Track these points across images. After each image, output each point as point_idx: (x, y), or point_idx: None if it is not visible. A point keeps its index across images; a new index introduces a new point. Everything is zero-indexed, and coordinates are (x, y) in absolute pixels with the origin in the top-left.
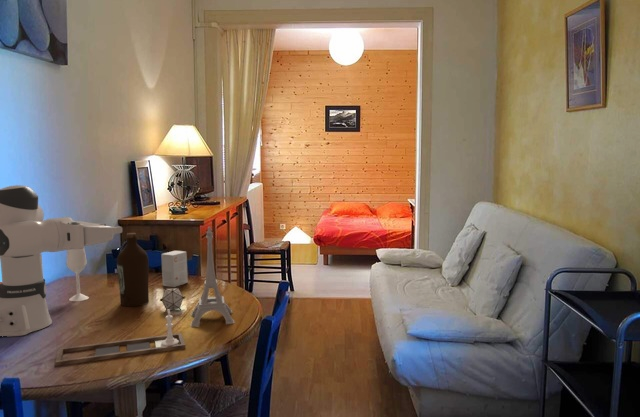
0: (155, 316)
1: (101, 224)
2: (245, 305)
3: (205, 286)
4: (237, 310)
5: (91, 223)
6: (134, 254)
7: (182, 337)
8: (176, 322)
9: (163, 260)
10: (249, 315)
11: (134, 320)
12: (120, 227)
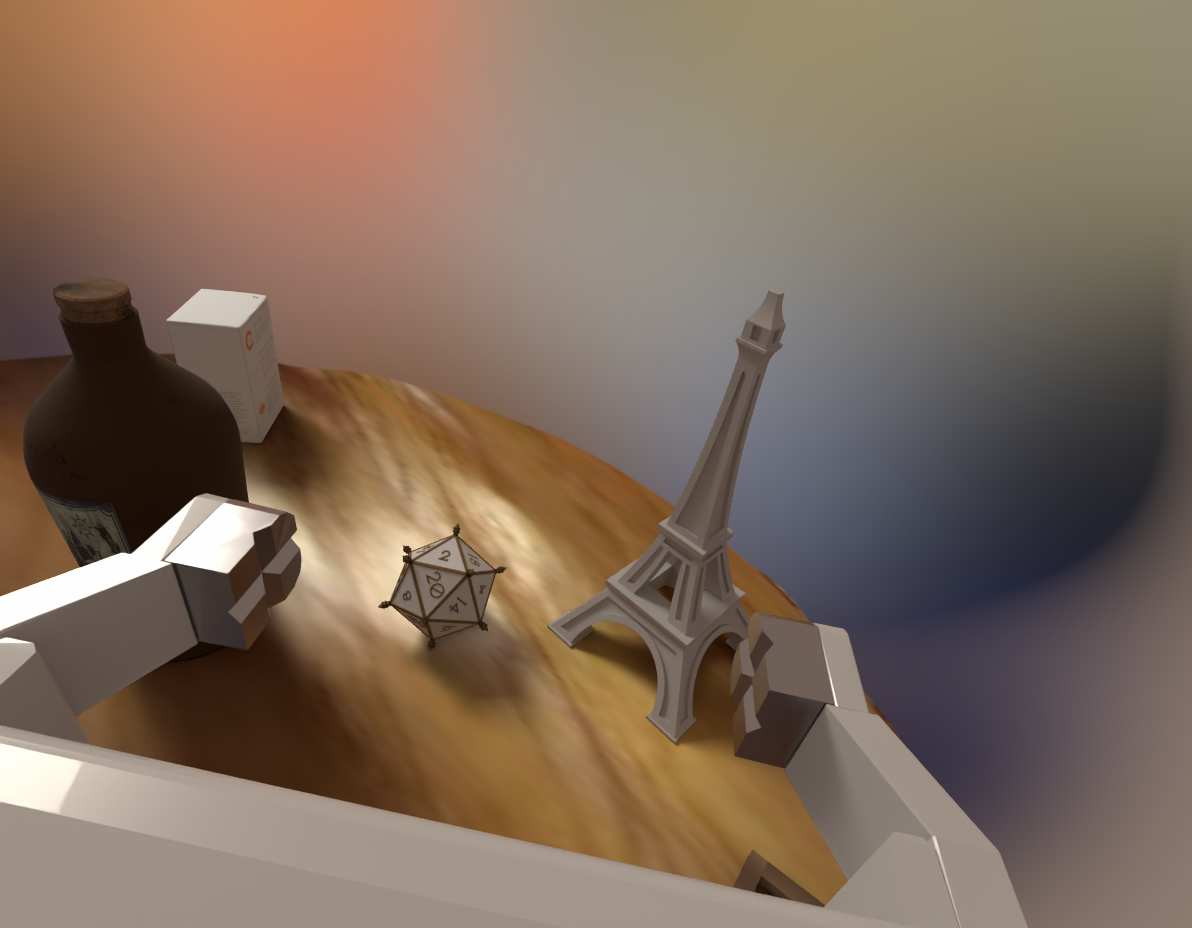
0: (427, 708)
1: (246, 558)
2: (642, 509)
3: (698, 562)
4: None
5: (267, 892)
6: (176, 427)
7: (811, 896)
8: (576, 727)
9: (185, 347)
10: (733, 571)
11: (364, 797)
12: (847, 651)
